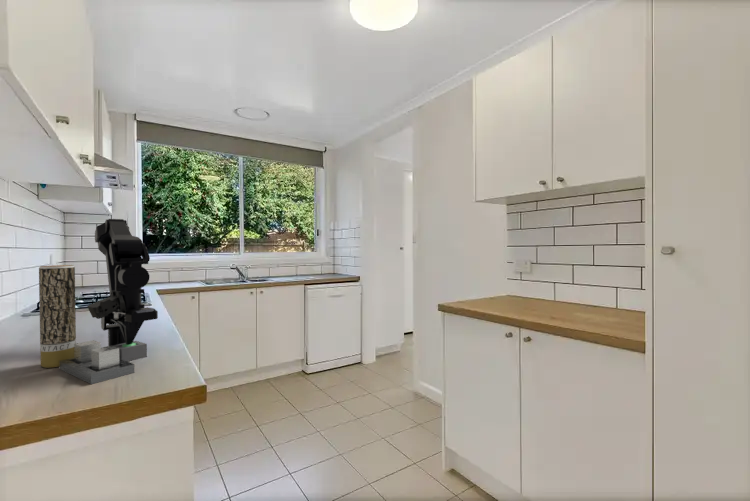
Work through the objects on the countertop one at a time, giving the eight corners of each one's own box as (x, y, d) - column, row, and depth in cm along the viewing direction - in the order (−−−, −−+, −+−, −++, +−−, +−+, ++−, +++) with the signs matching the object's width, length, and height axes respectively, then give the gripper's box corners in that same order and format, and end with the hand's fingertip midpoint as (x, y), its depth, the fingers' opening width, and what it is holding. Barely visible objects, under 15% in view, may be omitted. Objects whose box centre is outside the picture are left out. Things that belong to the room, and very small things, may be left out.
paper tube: (47, 362, 93) (45, 265, 93) (80, 358, 96) (78, 264, 96) (35, 370, 87) (33, 266, 87) (71, 366, 90) (69, 266, 90)
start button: (120, 354, 96) (120, 344, 96) (132, 351, 99) (132, 342, 99) (125, 355, 94) (125, 346, 94) (138, 353, 97) (137, 343, 97)
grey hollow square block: (111, 359, 96) (111, 345, 96) (136, 353, 101) (136, 340, 101) (121, 362, 92) (121, 349, 92) (146, 356, 97) (146, 343, 97)
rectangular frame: (59, 369, 88) (59, 360, 88) (100, 359, 95) (100, 352, 95) (91, 384, 78) (91, 375, 78) (134, 372, 85) (134, 364, 85)
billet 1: (74, 368, 89) (74, 343, 89) (94, 363, 92) (93, 340, 92) (81, 371, 86) (80, 346, 86) (100, 366, 90) (100, 342, 90)
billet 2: (99, 379, 81) (98, 352, 81) (91, 375, 83) (91, 349, 83) (119, 373, 85) (119, 348, 84) (111, 370, 87) (111, 345, 87)
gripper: (77, 287, 95) (77, 346, 95) (108, 291, 85) (109, 358, 85) (124, 283, 104) (125, 337, 104) (158, 286, 94) (159, 346, 94)
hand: (129, 344), depth 97 cm, fingers closed, pressing on start button
